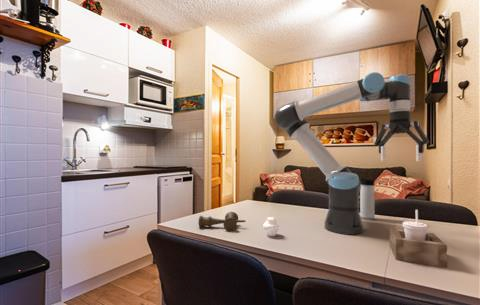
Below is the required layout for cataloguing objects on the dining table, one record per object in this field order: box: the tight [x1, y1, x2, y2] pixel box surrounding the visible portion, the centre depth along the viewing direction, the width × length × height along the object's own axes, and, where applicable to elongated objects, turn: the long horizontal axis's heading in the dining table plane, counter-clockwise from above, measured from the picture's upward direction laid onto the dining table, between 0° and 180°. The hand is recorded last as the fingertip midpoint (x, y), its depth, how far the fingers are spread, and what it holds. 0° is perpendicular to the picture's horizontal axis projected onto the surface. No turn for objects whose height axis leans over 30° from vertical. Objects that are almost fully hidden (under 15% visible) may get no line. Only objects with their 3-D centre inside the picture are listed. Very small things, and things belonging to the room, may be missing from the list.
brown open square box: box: [389, 228, 448, 268], centre depth 75 cm, size 12×12×6 cm
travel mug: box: [359, 177, 376, 221], centre depth 122 cm, size 6×7×20 cm
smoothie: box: [402, 209, 429, 241], centre depth 76 cm, size 6×6×14 cm
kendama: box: [198, 211, 246, 232], centre depth 104 cm, size 6×10×20 cm
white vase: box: [262, 216, 280, 237], centre depth 94 cm, size 6×6×7 cm
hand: (399, 161), depth 105 cm, fingers open, 13 cm apart
